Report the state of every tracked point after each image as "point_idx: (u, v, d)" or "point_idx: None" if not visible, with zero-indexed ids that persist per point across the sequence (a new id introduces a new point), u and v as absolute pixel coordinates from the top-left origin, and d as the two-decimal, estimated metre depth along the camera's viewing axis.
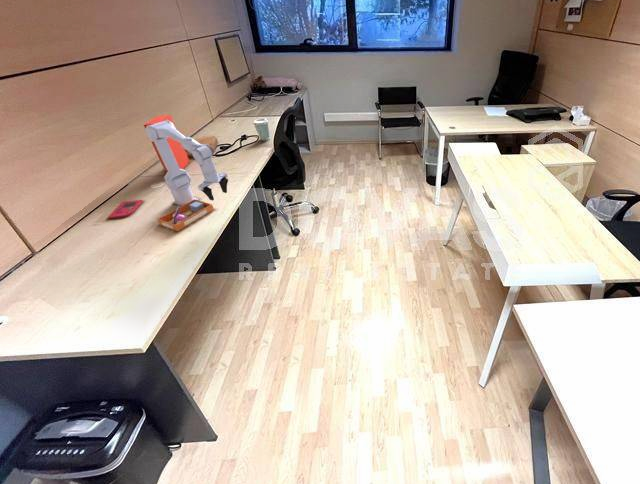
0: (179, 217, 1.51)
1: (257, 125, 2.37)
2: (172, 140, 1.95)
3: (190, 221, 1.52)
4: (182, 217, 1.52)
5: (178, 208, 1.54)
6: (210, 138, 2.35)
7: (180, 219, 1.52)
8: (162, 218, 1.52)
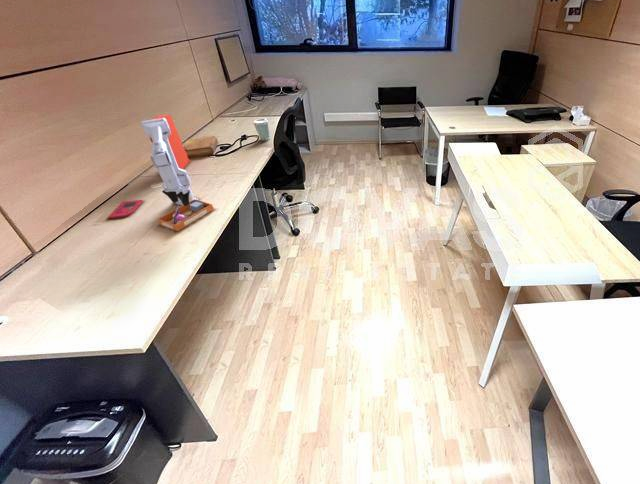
0: (179, 217, 1.51)
1: (257, 125, 2.37)
2: (172, 140, 1.95)
3: (190, 221, 1.52)
4: (182, 217, 1.52)
5: (178, 208, 1.54)
6: (210, 138, 2.35)
7: (180, 219, 1.52)
8: (162, 218, 1.52)
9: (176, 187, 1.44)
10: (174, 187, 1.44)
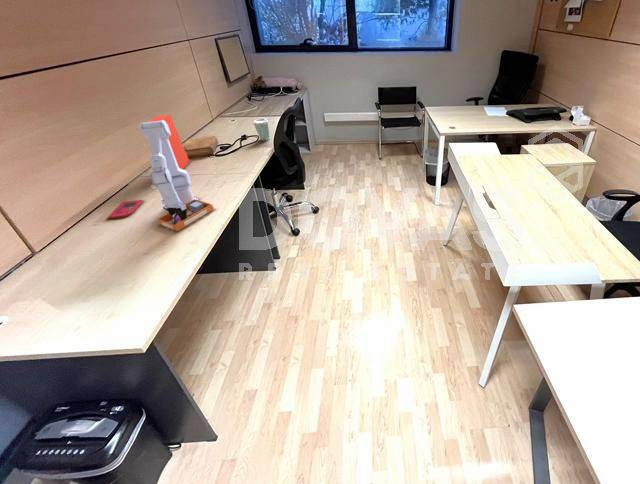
0: (179, 217, 1.51)
1: (257, 125, 2.37)
2: (172, 140, 1.95)
3: (190, 221, 1.52)
4: None
5: None
6: (210, 138, 2.35)
7: (180, 219, 1.52)
8: (162, 218, 1.52)
9: (175, 203, 1.48)
10: (173, 203, 1.47)
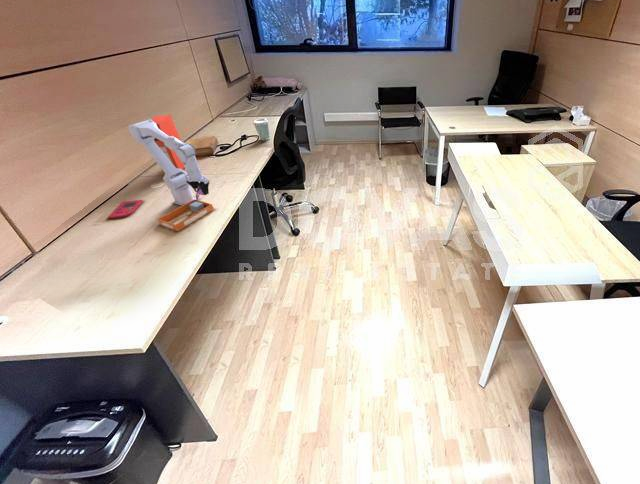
0: (201, 191, 1.58)
1: (257, 125, 2.37)
2: None
3: (190, 221, 1.52)
4: None
5: None
6: (210, 138, 2.35)
7: (202, 193, 1.59)
8: (162, 218, 1.52)
9: (198, 177, 1.55)
10: (196, 177, 1.54)
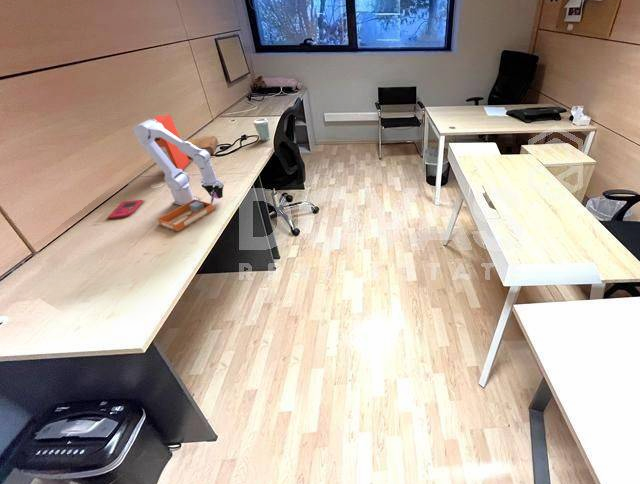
0: (216, 195, 1.66)
1: (257, 125, 2.37)
2: None
3: (190, 221, 1.52)
4: None
5: None
6: (210, 138, 2.35)
7: None
8: (162, 218, 1.52)
9: (213, 181, 1.62)
10: (211, 181, 1.62)
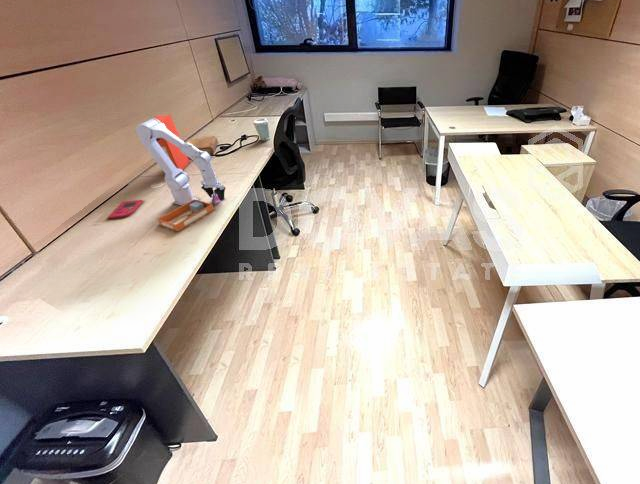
0: (217, 197, 1.67)
1: (257, 125, 2.37)
2: None
3: (190, 221, 1.52)
4: None
5: None
6: (210, 138, 2.35)
7: (218, 199, 1.67)
8: (162, 218, 1.52)
9: (214, 184, 1.63)
10: (212, 184, 1.62)
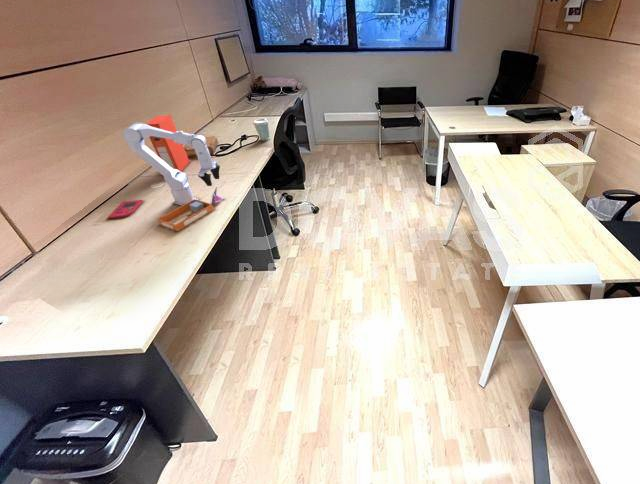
0: (217, 197, 1.67)
1: (257, 125, 2.37)
2: (172, 140, 1.95)
3: (190, 221, 1.52)
4: (219, 197, 1.68)
5: (216, 189, 1.69)
6: (210, 138, 2.35)
7: (218, 199, 1.67)
8: (162, 218, 1.52)
9: None
10: None
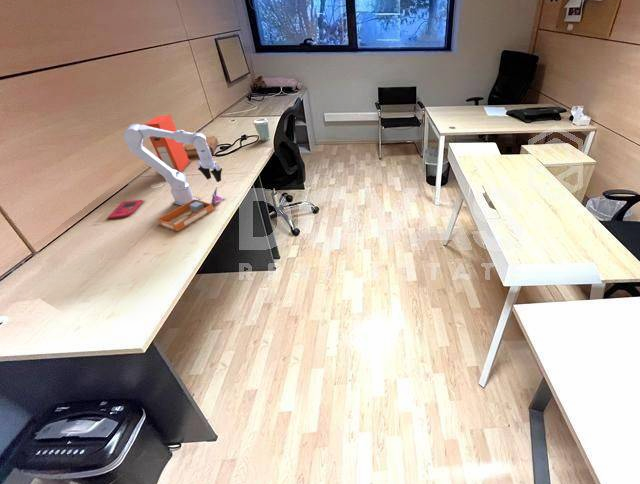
0: (217, 197, 1.67)
1: (257, 125, 2.37)
2: (172, 140, 1.95)
3: (190, 221, 1.52)
4: (219, 197, 1.68)
5: (216, 189, 1.69)
6: (210, 138, 2.35)
7: (218, 199, 1.67)
8: (162, 218, 1.52)
9: None
10: None
